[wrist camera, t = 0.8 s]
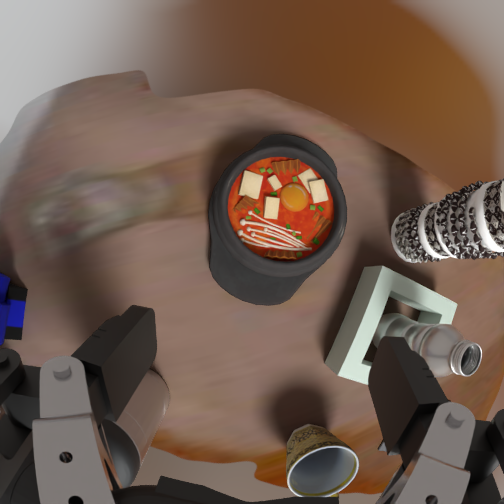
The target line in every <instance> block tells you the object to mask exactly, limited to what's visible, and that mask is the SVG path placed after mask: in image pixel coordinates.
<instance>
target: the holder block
mask: <svg viewBox="0 0 504 504" xmlns="http://www.w3.org/2000/svg"><path fill="white" fill-rule="evenodd" d="M388 297H391V298H393V299H396V300H398V301H400V302H402V303H404V304H406V305H409V306H411V307H413V308H415V309H417V310H419V311H421V312H420V315H419V318H418V320H417V322H419V323H426V324H450V325H451V322H452V320H453V317H454V313H455V310H456V307H457V304H456V303H454V302H453V301H451V300H449V299H447V298H445V297H443V296H441V295H439V294H437V293H436V292H434V291H432V290H430V289H428V288H426V287H424V286H422V285H420V284H418V283H416V282H414V281H412V280H410V279H408V278H406V277H404V276H402V275H400V274H398V273H396V272H394V271H392V270H390V269H388V268H386V267H384V266H371V267H364V269H363V272H362V274H361V277H360V280H359V282H358V285H357V288H356V290H355V293H354V295H353V298H352V300H351V303H350V305H349V308H348V310H347V313H346V315H345V318H344V320H343V322H342V325H341V327H340V330H339V332H338V334H337V336H336V339H335V341H334V343H333V346H332V348H331V350H330V352H329V354H328V357H327V359H326V361H325V364H326V365H327V366H328V367H329V368H330V369H331V370H332V371H333V372H334V373H336V374H337V375H338V376H341V377H344V378H348V379H351V380H354V381H357V382H360V383H364V384H367V385H368V376H369V371H370V368H371V366H372V362H369V361H366V360H363V358H364V356H365V354H366V351H367V349H368V347H369V345H370V342H371V340H372V338H373V335H374V333H375V330H376V328H377V325H378V323H379V320H380V318H381V315H382V313H383V310H384V308H385V305H386V302H387V300H388Z"/></svg>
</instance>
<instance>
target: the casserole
mask: <svg viewBox="0 0 504 504" xmlns="http://www.w3.org/2000/svg"><path fill="white" fill-rule="evenodd" d="M208 217H209V227H210V236H211V248H210V263H209V268H210V271H211V273H212V276H213V278H214V279H215V281H216V282H217V283H218V284H219V285H220V287H222V288H223V289H224V290H225V291H227V292H228V293H229V294H231V295H232V296H234V297H236V298H238V299H240V300H242V301H245V302H249V303H252V304H256V305H268V306H269V305H277V304H281V303H283V302H285V301H287V300H289V299H290V298H291V297H292V296H293V294H294V293H295V292H296V291H297V289H298V288H299V287H300V286H301V284H302V283H303V282H304V281H305V280H306V279H307V278H308V277H309V276H310V275H311V274H312V273H313V272H315V271H316V270H317V269H318V268H319V267H320V266H321V265H322V264H324V263H325V262H326V260H327V259H328V258H330V257H331V256H332V254H333V253H334V251H335V250H336V249H337V247H338V246H339V244H340V242H341V239H342V237H343V235H344V231H345V227H346V222H347V206H346V200H345V195H344V193H343V190H342V187H341V185H340V183H339V181H338V179H337V168H336V166H335V164H334V161H333V160H332V158H331V157H330V156H329V155H328V154H327V153H326V152H325V151H324V150H323V149H321V148H320V147H319V146H317V145H316V144H314V143H312V142H310V141H308V140H306V139H304V138H300V137H297V136H294V135H287V134H273V135H270V136H268V137H265V138H264V139H262V140H261V141H260V142H259V143H258V144H257V145H256V146H255V147H254V149H252V150H250V151H248V152H245V153H243V154H242V155H241V156H239V157H238V158H237V159H235V160H234V161H233V162H232V163H231V164H230V165H229V166H228V167H227V168H226V170H225V171H224V172H223V174H222V176H221V177H220V179H219V181H218V183H217V184H216V186H215V188H214V190H213V193H212V196H211V199H210V204H209V212H208Z"/></svg>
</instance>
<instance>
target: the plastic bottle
mask: <svg viewBox="0 0 504 504" xmlns="http://www.w3.org/2000/svg"><path fill="white" fill-rule="evenodd" d="M383 336H395V337H404V338H405V340H406V341H407V343H408V345H409V346H410V348H411V350H412V351H416V352H417V353H418V354H419V355H420V356H422V357H423V358H424V359H425V361H426V363H427V364H428V366H429V368H430V370H431V371H432V373H433V375H434V377H445V376H447V375H449V374H452V373H455V374H458V375H463V376H470V375H472V374H473V373H475V371H476V370H477V369H478V367H479V365H480V363H481V359H482V350H481V347H480V346H479V345H478V344H477V343H474V342H471V341H469V340H465V339H464V337H463V335H462V334H461V332H460V331H459V330H458V329H457V328H455V327H454V326H452V325H450V324H426V323H419V322H416V321H414V320H411V319H409V318H408V317H406V316H404V315H402V314H400V313H388V314H385V315H383V316H381V318H380V320H379V323H378V325H377V328H376V330H375V333H374V335H373V338H372V339H373V342H374V345H375V346H376V347H377V348H378V346H379V343H380V340H381V339H382V337H383Z"/></svg>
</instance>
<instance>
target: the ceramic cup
mask: <svg viewBox="0 0 504 504" xmlns="http://www.w3.org/2000/svg"><path fill="white" fill-rule="evenodd" d="M358 469H359V459H358V456H357V454H356V453H355V452H354V451H353V450H352V449H351V448H350V447H349V446H348V445H346V444H345V443H344V442H342V441H341V440H339V439H338V438H336V437H335V436H334V435H333V434H332V433H330V432H329V431H328V430H327V429H325V428H324V427H320V426H316V425H311V424H307V425H304V426H302V427H300V428H298V429H295V430H294V431H293V433H292V435H291V437H290V438H289V440H288V442H287V464H286V476H287V484H288V487H289V488H290V490H291V491H292V492H293V493H294V494H296V495H298V496H300V497H328V496H331V497H338V498H339V494H338V492H339V491H341V490H342V489H344V488H345V487H346V486H347V485H348V484H349V483H350V482H351V481H352V480H353V479H354V477H355V476H356V474H357V472H358Z"/></svg>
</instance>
